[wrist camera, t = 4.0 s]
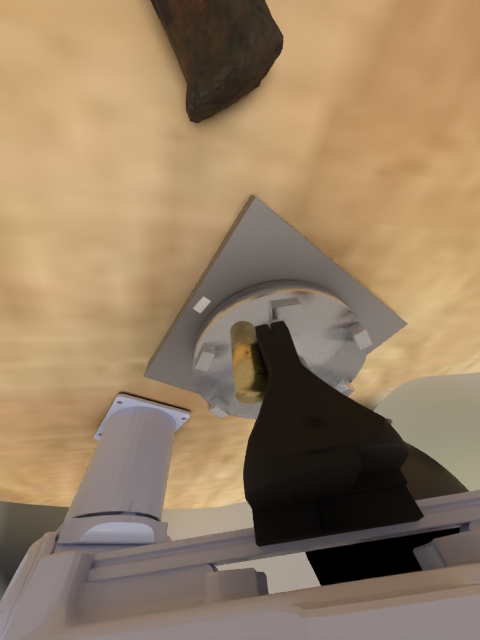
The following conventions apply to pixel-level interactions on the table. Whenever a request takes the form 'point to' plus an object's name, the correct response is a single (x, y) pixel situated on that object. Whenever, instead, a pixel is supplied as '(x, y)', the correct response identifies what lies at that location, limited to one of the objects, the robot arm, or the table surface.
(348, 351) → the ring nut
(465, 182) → the table surface
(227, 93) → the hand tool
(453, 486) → the coal bowl
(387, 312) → the base plate
